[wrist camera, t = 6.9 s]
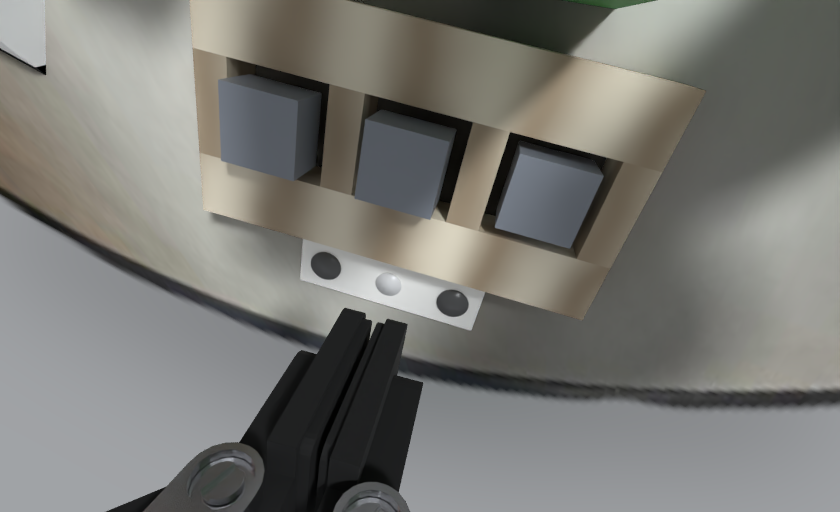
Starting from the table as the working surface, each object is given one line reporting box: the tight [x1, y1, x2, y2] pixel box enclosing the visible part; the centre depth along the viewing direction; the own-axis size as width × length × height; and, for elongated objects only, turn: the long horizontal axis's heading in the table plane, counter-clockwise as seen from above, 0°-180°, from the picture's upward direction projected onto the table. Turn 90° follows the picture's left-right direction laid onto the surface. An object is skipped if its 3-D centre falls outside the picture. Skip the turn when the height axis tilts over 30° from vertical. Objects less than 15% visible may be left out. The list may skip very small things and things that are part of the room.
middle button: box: [354, 109, 457, 220], centre depth 23 cm, size 4×4×3 cm
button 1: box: [218, 74, 322, 181], centre depth 23 cm, size 4×4×3 cm
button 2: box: [495, 140, 604, 249], centre depth 24 cm, size 4×4×3 cm
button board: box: [190, 0, 706, 320], centre depth 25 cm, size 26×14×3 cm, turn 78°
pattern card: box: [300, 239, 485, 331], centre depth 31 cm, size 14×4×1 cm, turn 78°
